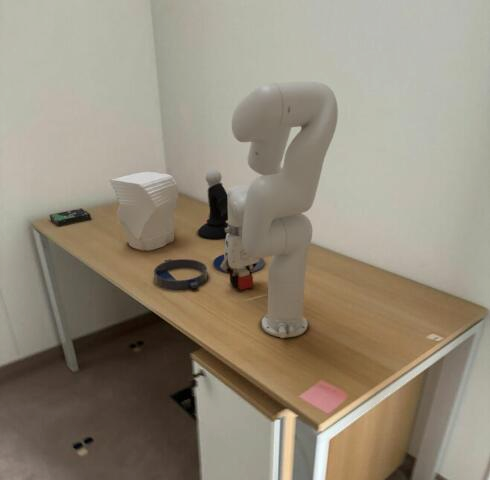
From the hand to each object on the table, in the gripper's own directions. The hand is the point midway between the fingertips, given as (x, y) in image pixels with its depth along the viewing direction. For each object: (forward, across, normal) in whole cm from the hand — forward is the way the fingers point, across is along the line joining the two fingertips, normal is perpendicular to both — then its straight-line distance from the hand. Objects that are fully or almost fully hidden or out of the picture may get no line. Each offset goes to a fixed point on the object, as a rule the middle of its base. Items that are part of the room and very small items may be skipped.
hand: (241, 283), depth 149 cm
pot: (+1, -14, +15) cm, 21 cm away
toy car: (+1, 0, 0) cm, 1 cm away
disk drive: (+2, -32, +96) cm, 101 cm away
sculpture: (+2, +16, +44) cm, 47 cm away
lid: (+1, +8, +15) cm, 17 cm away
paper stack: (+2, -9, +50) cm, 51 cm away
